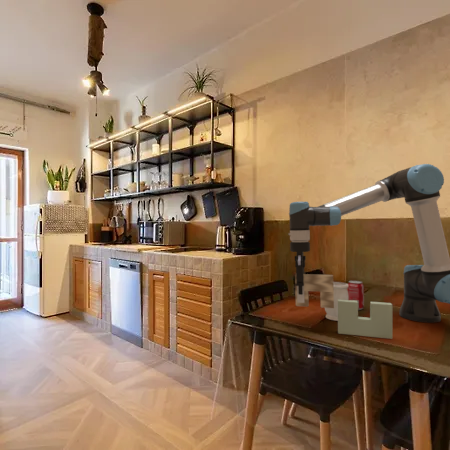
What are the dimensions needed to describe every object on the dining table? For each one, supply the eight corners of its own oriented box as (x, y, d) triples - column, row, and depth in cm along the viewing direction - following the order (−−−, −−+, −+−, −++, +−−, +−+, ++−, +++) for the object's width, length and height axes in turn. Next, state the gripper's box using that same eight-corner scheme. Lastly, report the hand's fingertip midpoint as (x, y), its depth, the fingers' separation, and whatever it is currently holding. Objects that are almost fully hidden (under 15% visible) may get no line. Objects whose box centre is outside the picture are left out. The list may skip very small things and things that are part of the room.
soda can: (365, 311, 142) (365, 283, 142) (349, 310, 143) (349, 282, 143) (361, 307, 148) (361, 280, 149) (346, 306, 150) (346, 280, 150)
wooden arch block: (333, 306, 116) (332, 274, 116) (333, 308, 113) (333, 276, 113) (296, 304, 120) (295, 273, 120) (295, 305, 117) (294, 275, 117)
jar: (328, 313, 138) (328, 280, 138) (351, 317, 131) (351, 283, 132) (319, 318, 130) (319, 284, 130) (343, 323, 123) (343, 287, 123)
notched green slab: (390, 335, 109) (390, 302, 110) (392, 338, 107) (392, 305, 107) (337, 330, 115) (337, 299, 115) (338, 333, 112) (338, 301, 112)
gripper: (291, 240, 127) (293, 296, 127) (287, 242, 111) (289, 306, 111) (310, 240, 124) (311, 297, 124) (309, 242, 109) (310, 307, 109)
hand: (301, 301), depth 118 cm, fingers closed on wooden arch block, 3 cm apart
